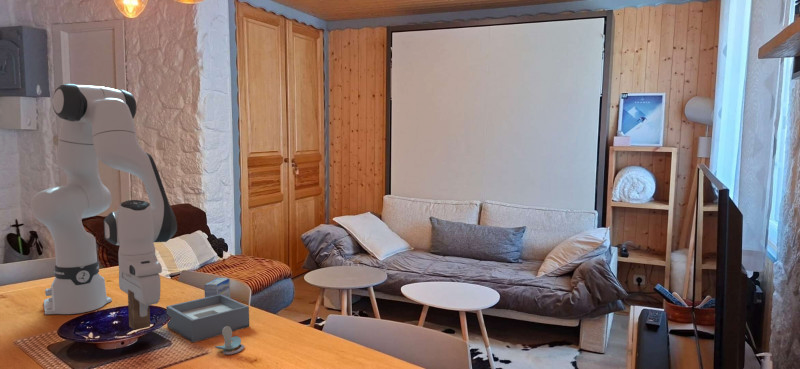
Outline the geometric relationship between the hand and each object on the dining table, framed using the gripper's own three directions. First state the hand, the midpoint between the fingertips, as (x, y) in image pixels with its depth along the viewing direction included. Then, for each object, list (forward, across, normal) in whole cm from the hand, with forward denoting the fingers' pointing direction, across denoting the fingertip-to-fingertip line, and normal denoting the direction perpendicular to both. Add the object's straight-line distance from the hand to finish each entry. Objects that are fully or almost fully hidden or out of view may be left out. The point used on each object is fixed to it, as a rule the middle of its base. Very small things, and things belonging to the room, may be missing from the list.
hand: (139, 313), depth 147 cm
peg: (+4, 0, 0) cm, 4 cm away
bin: (+7, +3, +18) cm, 19 cm away
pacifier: (+7, +23, +14) cm, 28 cm away
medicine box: (+8, -11, +27) cm, 30 cm away
